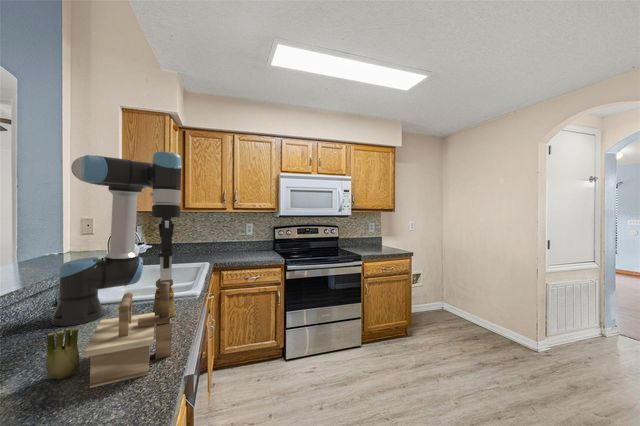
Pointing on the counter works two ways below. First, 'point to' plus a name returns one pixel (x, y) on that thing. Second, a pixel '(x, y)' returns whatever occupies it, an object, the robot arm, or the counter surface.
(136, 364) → the toolbox
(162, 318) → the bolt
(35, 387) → the counter surface
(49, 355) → the fennel bulb
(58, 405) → the counter surface
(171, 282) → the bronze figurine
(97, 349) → the lid
